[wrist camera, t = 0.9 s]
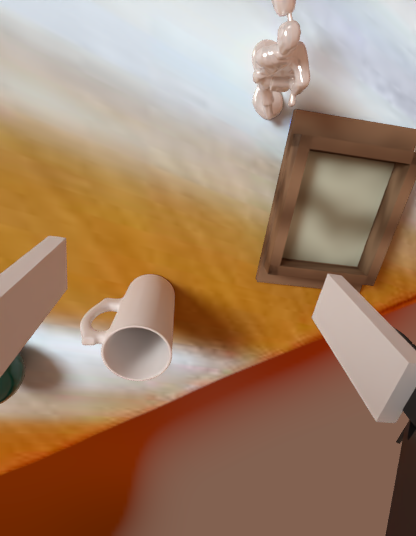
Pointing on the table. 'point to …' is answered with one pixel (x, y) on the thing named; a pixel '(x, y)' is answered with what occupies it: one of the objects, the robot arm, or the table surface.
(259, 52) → the figurine
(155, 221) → the table surface
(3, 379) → the sphere
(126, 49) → the table surface
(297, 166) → the brown picture frame
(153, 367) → the mug
